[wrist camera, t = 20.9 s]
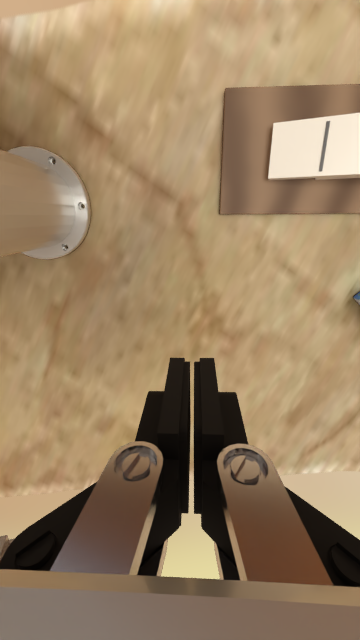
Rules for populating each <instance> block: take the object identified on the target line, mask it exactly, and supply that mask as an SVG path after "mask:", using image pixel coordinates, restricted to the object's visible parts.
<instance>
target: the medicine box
mask: <svg viewBox="0 0 360 640" xmlns="http://www.w3.org/2000/svg"><path fill="white" fill-rule="evenodd" d="M353 298H354V299H355V300H356V301H357V303H358V304H359V305H360V292H359V293H358V294H356V295H355V296H354V297H353Z"/></svg>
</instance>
